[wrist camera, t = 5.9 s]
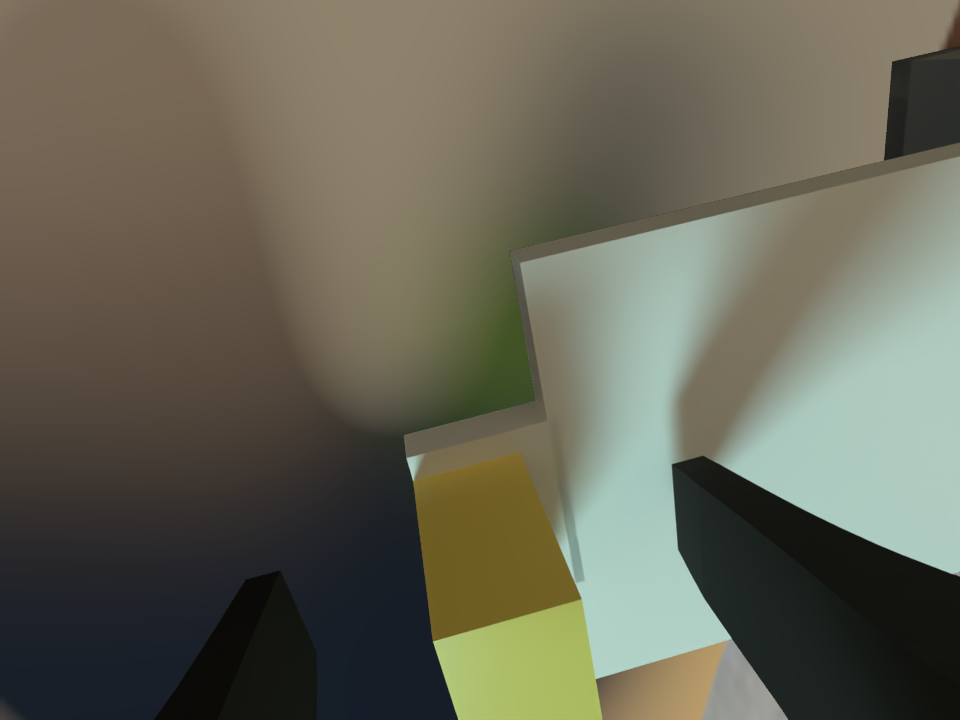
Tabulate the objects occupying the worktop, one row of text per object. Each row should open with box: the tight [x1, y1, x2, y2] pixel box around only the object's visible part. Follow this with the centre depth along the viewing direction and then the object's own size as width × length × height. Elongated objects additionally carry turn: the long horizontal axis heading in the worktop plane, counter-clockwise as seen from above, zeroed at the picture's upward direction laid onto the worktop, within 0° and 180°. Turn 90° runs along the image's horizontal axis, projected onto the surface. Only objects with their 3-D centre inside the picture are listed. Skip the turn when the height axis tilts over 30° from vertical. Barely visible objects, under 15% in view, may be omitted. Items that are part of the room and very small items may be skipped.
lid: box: [404, 143, 960, 720], centre depth 11 cm, size 10×17×4 cm, turn 101°
